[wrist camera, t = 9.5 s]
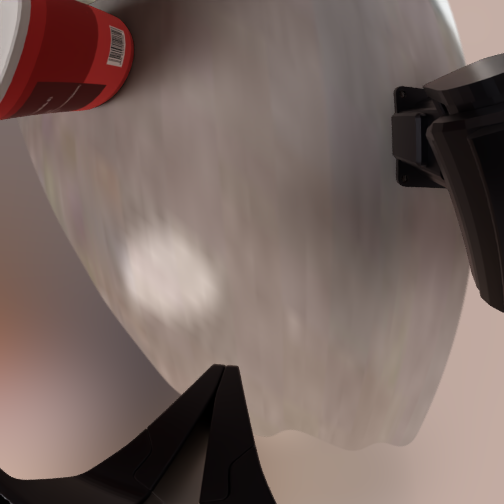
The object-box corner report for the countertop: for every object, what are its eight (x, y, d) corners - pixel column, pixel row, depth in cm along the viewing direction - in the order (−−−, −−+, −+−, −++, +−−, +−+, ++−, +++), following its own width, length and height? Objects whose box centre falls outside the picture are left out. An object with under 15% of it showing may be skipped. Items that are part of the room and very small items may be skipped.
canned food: (104, 1, 14) (2, -34, 4) (158, 52, 15) (42, 14, 6) (47, 73, 16) (-57, 78, 6) (91, 130, 18) (-28, 156, 8)
